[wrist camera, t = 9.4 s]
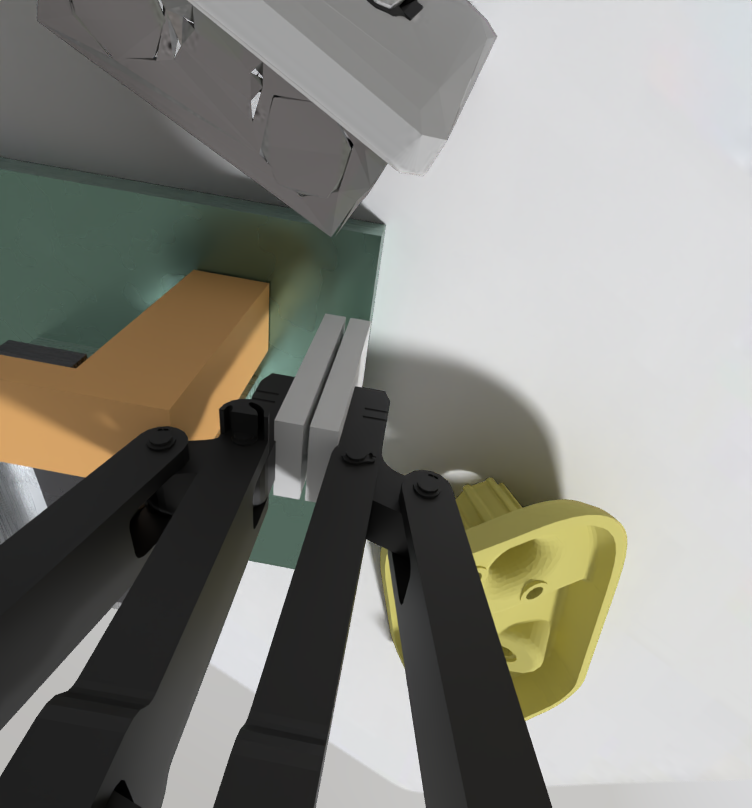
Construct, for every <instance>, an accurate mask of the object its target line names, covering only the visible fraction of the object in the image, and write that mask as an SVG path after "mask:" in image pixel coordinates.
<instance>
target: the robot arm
mask: <svg viewBox="0 0 752 808" xmlns="http://www.w3.org/2000/svg"><path fill="white" fill-rule="evenodd" d="M345 321H346V317H343V316H337V315H331V314H325V315H324V318H323V320H322V322H321V324H320V326H319V328H318V330H317V332H316V334H315V336H314V338H313V341H312V343H311V345H310V347H309V349H308V351H307V353H306V355H305V357H304V359H303V362H302V364H301V366H300V368H299V370H298V372H297V374H296V376H295V377H293V376H287V375H281V374H275V373H272V374H270V375H269V376H267V377H266V378H264V379H263V380H261V382H260V383H259V385H258V387H257V389H256V392H254V394H253V396H252V397H251V399H237V400H232V401H230V402H227V403H225V404H224V405H223V406H222V407H221V408H219V419H220V435H219V437H218V438H214V439H208V440H192V441H188V437H187V435H186V434H185V432H184V431H182V430H180V429H178V428H175V427H170V426H163V427H156V428H152V429H148V430H147V431H145V432H143V433H141V434H140V435H138V436H137V437H136V438H135V439H133V440H132V441H131V442H130V443H128V444H127V445H126V446H125V447H123V448H122V449H121V450H120V451H118V452H117V453H116V454H114V455H113V456H112V457H111V458H109V459H108V460H107V461H106V462H104V463H103V464H102V465H101V466H99V467H98V468H97V469H95V470H94V471H93V472H92V473H90V474H89V475H88V476H87V477H85V478H84V479H83V480H82V481H80V482H79V483H78V484H77V485H75V486H74V487H73V488H71V489H70V490H69V491H68V492H66V493H65V494H64V495H63V496H61V497H60V498H59V499H58V500H56V501H55V502H54V503H53V504H51V505H50V506H49V507H47V508H46V509H45V510H44V511H42V512H41V513H40V514H39V515H37V516H36V517H35V518H34V519H32V520H31V521H30V522H29V523H27V524H26V525H25V526H23V527H22V528H21V529H20V530H18V531H17V532H16V533H15V534H13V535H12V536H11V537H10V538H8V539H7V540H6V541H4V542H3V543H2V544H1V545H0V730H1V729H2V728H3V727H4V726H5V725H6V724H7V722H8V721H9V720H10V719H11V718H12V717H13V716H14V715H15V714H16V713H17V711H18V710H19V709H20V708H21V707H22V706H23V705H24V704H25V703H26V701H27V700H28V699H29V698H30V697H31V696H32V695H33V694H34V692H36V690H37V689H38V688H39V687H40V686H41V685H42V684H43V683H44V682H45V681H46V679H47V678H48V677H49V676H50V675H51V674H52V673H53V672H54V671H55V669H56V668H57V667H58V666H59V665H60V664H61V663H62V662H63V660H65V658H66V657H67V656H68V655H69V654H70V653H71V652H72V651H73V650H74V648H75V647H76V646H77V645H78V644H79V643H80V642H81V641H82V639H84V637H85V636H86V635H87V634H88V633H89V632H90V631H91V629H93V628H94V626H95V625H96V624H97V623H98V622H99V621H100V620H101V619H102V617H103V616H104V615H105V614H106V613H107V612H108V611H109V610H110V609H111V608H112V607H113V605H114V604H115V603H116V602H117V601H118V600H119V599H120V598H121V597H122V595H123V594H124V593H125V592H126V591H127V590H128V589H129V588H130V587H131V588H130V590H129V592H128V593H127V595H126V597H125V599H124V600H123V602H122V604H121V605H120V607H119V609H118V611H117V612H116V614H115V616H114V618H113V619H112V621H111V623H110V624H109V626H108V628H107V629H106V631H105V633H104V635H103V636H102V638H101V640H100V642H99V643H98V645H97V647H96V648H95V650H94V652H93V654H92V656H91V657H90V659H89V660H88V662H87V664H86V666H85V667H84V669H83V671H82V672H81V674H80V676H79V678H78V679H77V681H76V682H75V684H74V685H73V686H72V687H71V688H70V689H69V690H68V691H66V692H64V693H61V694H58V695H55V696H54V697H53V698H52V699H51V700H50V701H49V702H48V703H46V705H45V706H44V708H43V709H42V710H41V712H40V713H39V715H38V716H37V717H36V719H35V721H34V722H33V724H32V725H31V727H30V729H29V730H28V732H27V734H26V735H25V737H24V739H23V740H22V742H21V744H20V745H19V747H18V748H17V750H16V752H15V753H14V755H13V757H12V758H11V760H10V762H9V763H8V765H7V766H6V768H5V770H4V772H3V773H2V775H1V776H0V808H161V806H162V803H163V799H164V795H165V790H166V784H167V778H168V773H169V769H170V765H171V762H172V759H173V756H174V754H175V751H176V749H177V746H178V743H179V741H180V738H181V735H182V733H183V730H184V728H185V725H186V723H187V720H188V717H189V715H190V712H191V709H192V706H193V704H194V701H195V699H196V696H197V694H198V691H199V688H200V686H201V683H202V681H203V678H204V675H205V673H206V670H207V667H208V665H209V662H210V660H211V657H212V654H213V652H214V649H215V646H216V644H217V641H218V639H219V636H220V633H221V631H222V628H223V626H224V623H225V620H226V618H227V615H228V612H229V610H230V607H231V605H232V602H233V599H234V597H235V594H236V591H237V589H238V586H239V584H240V581H241V578H242V576H243V573H244V570H245V568H246V565H247V563H248V560H249V557H250V555H251V552H252V549H253V547H254V544H255V542H256V539H257V536H258V534H259V531H260V528H261V526H262V523H263V521H264V518H265V515H266V513H267V510H268V504H269V493H270V490H271V488H272V486H273V483H274V486H273V495H277V496H282V497H288V498H293V499H299V498H300V496H301V493H302V490H303V487H304V484H305V481H306V492H305V501H310V502H316V504H315V507H314V510H313V513H312V517H311V520H310V523H309V526H308V529H307V532H306V536H305V539H304V542H303V545H302V548H301V551H300V555H299V558H298V561H297V564H296V567H295V571H294V574H293V577H292V580H291V583H290V586H289V590H288V593H287V596H286V599H285V602H284V605H283V609H282V612H281V615H280V618H279V621H278V624H277V628H276V631H275V634H274V637H273V640H272V644H271V647H270V650H269V653H268V656H267V659H266V663H265V666H264V669H263V672H262V675H261V678H260V682H259V685H258V688H257V691H256V694H255V697H254V701H253V704H252V707H251V710H250V713H249V716H248V719H247V721H246V723H245V724H244V726H243V727H242V728H241V729H240V731H239V733H238V735H237V737H236V740H235V743H234V746H233V748H232V751H231V754H230V757H229V760H228V764H227V766H226V769H225V773H224V776H223V779H222V782H221V785H220V788H219V791H218V794H217V797H216V800H215V804H214V807H213V808H316V803H317V798H318V792H319V787H320V781H321V776H322V770H323V765H324V760H325V755H326V750H327V744H328V739H329V734H330V728H331V723H332V718H333V712H334V707H335V702H336V696H337V691H338V686H339V680H340V675H341V670H342V664H343V659H344V654H345V648H346V643H347V638H348V633H349V627H350V622H351V617H352V611H353V606H354V601H355V595H356V590H357V585H358V579H359V574H360V569H361V563H362V558H363V553H364V547H365V543H366V539H367V540H369V541H371V542H373V543H375V544H377V545H379V546H381V547H383V548H385V549H387V550H388V560H389V567H390V574H391V580H392V587H393V593H394V600H395V607H396V613H397V620H398V626H399V633H400V639H401V646H402V653H403V659H404V666H405V672H406V679H407V686H408V692H409V699H410V705H411V712H412V719H413V725H414V732H415V738H416V745H417V752H418V758H419V765H420V771H421V778H422V785H423V791H424V798H425V804H426V808H552V805H551V802H550V799H549V795H548V793H547V789H546V786H545V783H544V780H543V776H542V773H541V770H540V767H539V764H538V760H537V757H536V754H535V751H534V748H533V745H532V741H531V738H530V735H529V732H528V729H527V726H526V722H525V719H524V716H523V713H522V710H521V706H520V703H519V700H518V697H517V694H516V691H515V687H514V684H513V681H512V678H511V675H510V671H509V668H508V665H507V662H506V659H505V656H504V652H503V649H502V646H501V643H500V640H499V636H498V633H497V630H496V627H495V624H494V621H493V617H492V614H491V611H490V608H489V605H488V601H487V598H486V595H485V592H484V589H483V586H482V582H481V579H480V576H479V573H478V570H477V566H476V563H475V560H474V557H473V554H472V551H471V547H470V544H469V541H468V538H467V535H466V532H465V528H464V525H463V522H462V519H461V516H460V512H459V509H458V506H457V503H456V500H455V497H454V493H453V490H452V488H451V486H450V484H449V482H448V481H447V480H446V479H444V478H443V477H442V476H441V475H439V474H436V473H434V472H431V471H425V470H420V471H413V472H411V473H409V474H407V475H406V476H404V475H402V474H400V473H398V472H396V471H394V470H392V469H391V468H390V467H389V466H388V465H387V464H386V463H385V462H384V460H383V457H382V446H383V440H384V434H385V428H386V422H387V416H388V411H389V405H390V400H389V398H388V396H387V394H386V392H385V391H380V390H374V389H368V388H362V385H363V378H364V371H365V363H366V356H367V348H368V341H369V333H370V326H371V321H366V320H361V319H355V318H350V321H349V323H348V326H347V329H346V331H345ZM344 331H345V334H344ZM132 584H133V585H132Z"/></svg>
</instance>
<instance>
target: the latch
mask: <svg viewBox="0 0 752 808" xmlns="http://www.w3.org/2000/svg"><path fill="white" fill-rule="evenodd" d="M268 335H269V283H265V282H260V281H254V280H249V279H243V278H237V277H232V276H226V275H221V274H215V273H209V272H204V271H198V270H193V271H192V272H190V273H189V274H188V275H187V276H186V277H184V278H183V279H182V280H181V281H180V282H178V283H177V284H176V285H175V286H174V287H173V288H171V289H170V290H169V291H168V292H167V293H165V294H164V295H163V296H162V297H161V298H159V299H158V300H157V301H156V302H155V303H153V304H152V305H151V306H150V307H149V308H147V309H146V310H145V311H144V312H143V313H142V314H140V315H139V316H138V317H137V318H136V319H134V320H133V321H132V322H131V323H130V324H128V325H127V326H126V327H125V328H124V329H122V330H121V331H120V332H119V333H118V334H116V335H115V336H114V337H113V338H112V339H111V340H109V341H108V342H107V343H106V344H105V345H103V346H102V347H101V348H100V349H99V350H97V351H96V352H95V353H94V354H93V355H91V356H90V357H89V358H88V359H87V360H86V361H84V362H83V363H82V364H81V365H80V366H78V367H77V368H70V367H65V366H59V365H54V364H49V363H43V362H38V361H32V360H27V359H21V358H16V357H10V356H5V355H0V462H5V463H11V464H16V465H21V466H27V467H32V468H37V469H43V470H48V471H53V472H59V473H64V474H69V475H75V476H80V477H87V476H88V475H89V474H90V473H92V472H93V471H94V470H95V469H97V468H98V467H99V466H101V465H102V464H103V463H104V462H106V461H107V460H108V459H109V458H111V457H112V456H113V455H114V454H116V453H117V452H118V451H120V450H121V449H122V448H123V447H125V446H126V445H127V444H128V443H130V442H131V441H132V440H133V439H135V438H136V437H137V436H138V435H140V434H141V433H143V432H145V431H147V430H148V429H152V428H156V427H163V426H170V427H175V428H178V429H180V430H182V431H184V432H185V434H186V435H187V437H188V441H192V440H208V439H214V438H215V436H216V435H217V433H218V431H219V430H220V419H219V408H221V407H222V406H223V405H224V404H225V403H227V402H230V401H232V400H237V399H239V397H240V396H241V394H242V392H243V391H244V389H245V387H246V386H247V384H248V383H249V381H250V379H251V378H252V376H253V374H254V373H255V371H256V370H257V368H258V366H259V365H260V363H261V361H262V360H263V358H264V356H265V355H266V353H267V352H268Z"/></svg>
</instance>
